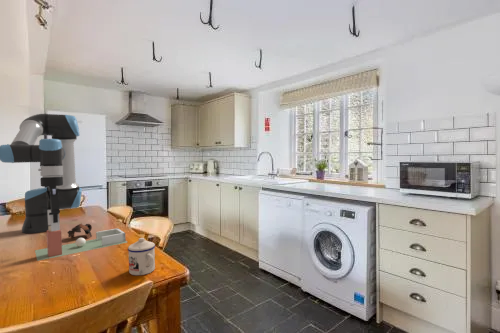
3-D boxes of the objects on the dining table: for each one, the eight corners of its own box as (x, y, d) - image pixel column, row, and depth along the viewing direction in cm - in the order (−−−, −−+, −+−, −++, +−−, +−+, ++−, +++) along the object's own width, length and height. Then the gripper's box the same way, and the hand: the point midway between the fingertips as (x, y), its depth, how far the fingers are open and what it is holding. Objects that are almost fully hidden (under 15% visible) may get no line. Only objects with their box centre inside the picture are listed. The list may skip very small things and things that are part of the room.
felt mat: (34, 250, 119) (34, 250, 119) (118, 235, 142) (118, 234, 142) (37, 261, 107) (37, 260, 107) (127, 242, 130) (127, 242, 130)
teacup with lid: (123, 271, 98) (122, 238, 97) (147, 263, 104) (147, 233, 104) (140, 281, 90) (139, 246, 89) (164, 272, 96) (164, 239, 96)
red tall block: (47, 254, 115) (46, 225, 114) (60, 251, 117) (59, 224, 117) (48, 257, 111) (47, 227, 111) (62, 254, 114) (60, 226, 114)
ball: (74, 246, 124) (74, 237, 124) (84, 244, 127) (84, 236, 127) (76, 248, 121) (76, 239, 121) (86, 246, 124) (86, 237, 124)
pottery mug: (86, 242, 133) (75, 228, 131) (71, 249, 135) (60, 236, 133) (100, 229, 144) (90, 216, 142) (86, 236, 146) (77, 224, 144)
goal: (96, 240, 133) (96, 231, 133) (118, 235, 140) (118, 228, 140) (102, 246, 124) (102, 237, 124) (125, 241, 131) (125, 233, 131)
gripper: (38, 175, 120) (40, 223, 121) (42, 178, 101) (45, 235, 102) (59, 174, 125) (60, 221, 125) (67, 177, 106) (69, 231, 107)
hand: (53, 227), depth 114 cm, fingers open, 13 cm apart
